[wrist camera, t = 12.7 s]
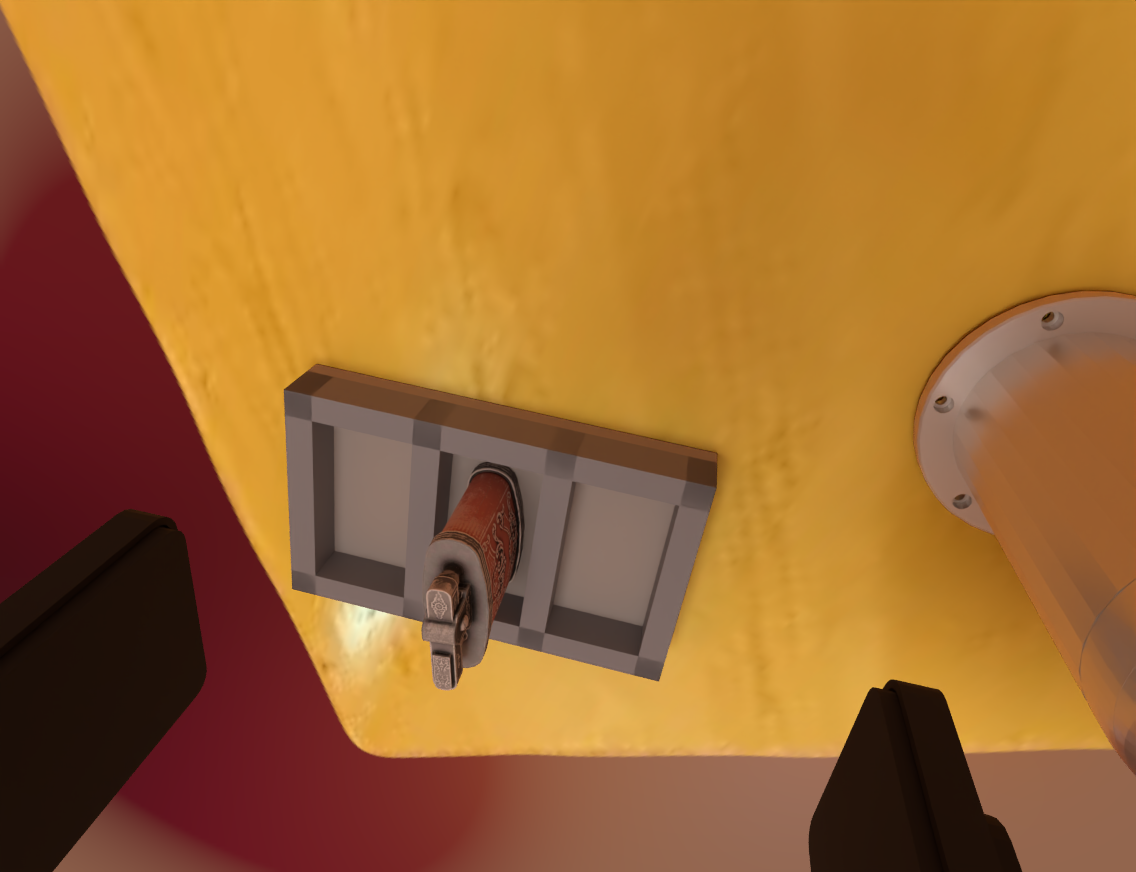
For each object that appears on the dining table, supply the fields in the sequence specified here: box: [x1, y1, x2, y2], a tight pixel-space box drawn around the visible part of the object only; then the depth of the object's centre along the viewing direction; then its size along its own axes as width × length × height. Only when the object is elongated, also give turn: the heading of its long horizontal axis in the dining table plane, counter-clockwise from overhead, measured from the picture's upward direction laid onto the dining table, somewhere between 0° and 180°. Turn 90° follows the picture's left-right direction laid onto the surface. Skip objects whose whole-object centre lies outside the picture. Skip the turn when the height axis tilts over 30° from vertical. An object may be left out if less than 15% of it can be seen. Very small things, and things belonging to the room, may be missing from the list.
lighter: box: [422, 461, 525, 690], centre depth 38 cm, size 8×3×10 cm, turn 179°
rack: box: [284, 364, 717, 681], centre depth 42 cm, size 22×14×4 cm, turn 81°
